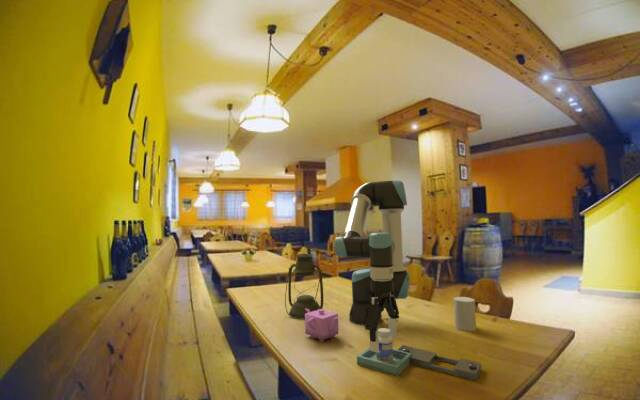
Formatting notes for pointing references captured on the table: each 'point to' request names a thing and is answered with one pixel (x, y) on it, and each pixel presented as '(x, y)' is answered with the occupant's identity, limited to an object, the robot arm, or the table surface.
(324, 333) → the teapot
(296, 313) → the lantern
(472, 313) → the cup
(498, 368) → the table surface
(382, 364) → the tray
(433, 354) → the mounting rail
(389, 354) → the pill bottle
